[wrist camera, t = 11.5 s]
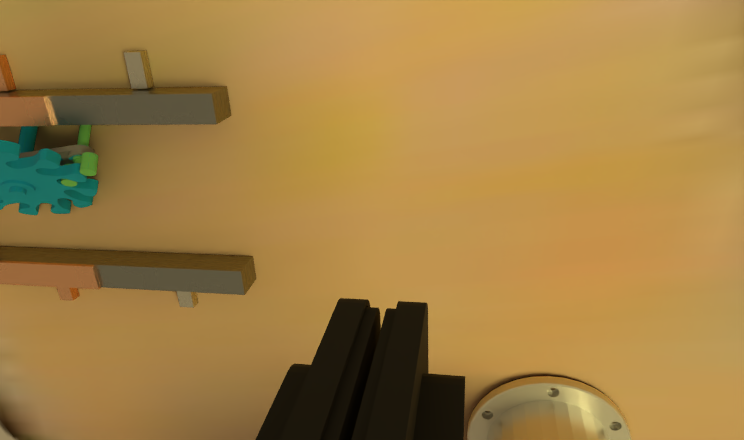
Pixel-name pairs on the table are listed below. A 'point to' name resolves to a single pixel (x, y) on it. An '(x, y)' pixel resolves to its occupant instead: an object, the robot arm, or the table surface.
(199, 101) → the rail
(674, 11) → the table surface
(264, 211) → the table surface
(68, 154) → the gear
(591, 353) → the table surface
